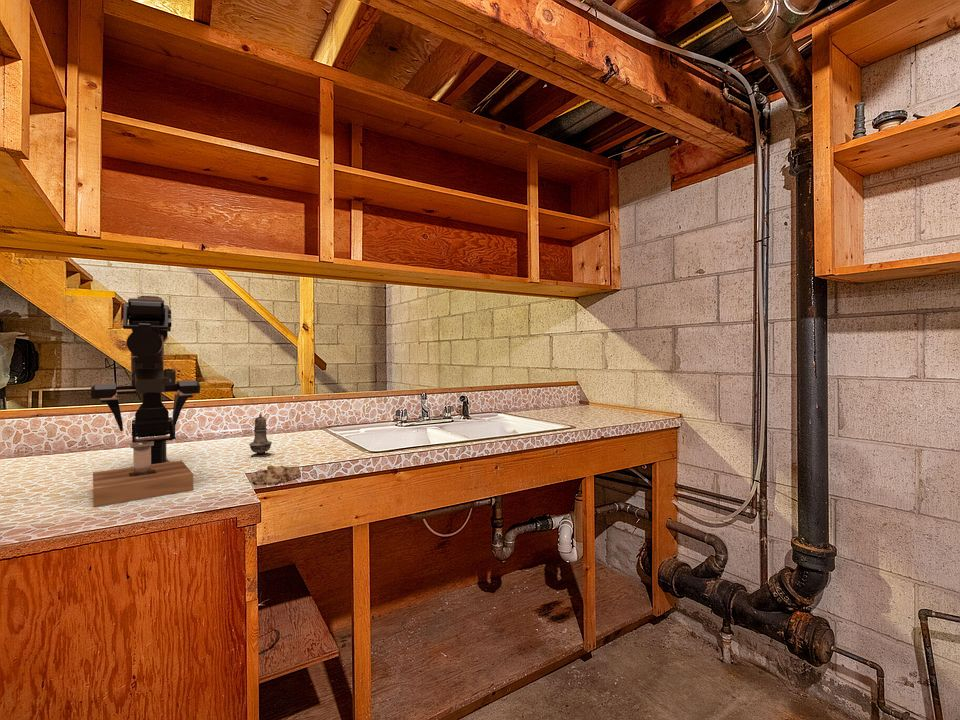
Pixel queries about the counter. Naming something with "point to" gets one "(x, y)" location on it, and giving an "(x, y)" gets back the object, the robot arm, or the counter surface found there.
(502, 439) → the counter surface
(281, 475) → the mineral rock
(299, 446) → the counter surface
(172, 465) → the socket block
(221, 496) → the counter surface
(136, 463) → the pin
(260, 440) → the salt shaker
